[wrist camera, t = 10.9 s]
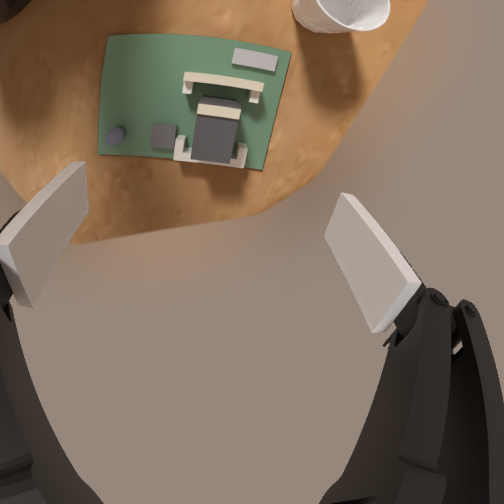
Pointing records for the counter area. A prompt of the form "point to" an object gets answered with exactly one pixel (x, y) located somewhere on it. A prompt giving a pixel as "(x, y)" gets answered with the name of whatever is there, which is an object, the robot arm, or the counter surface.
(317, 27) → the white cup
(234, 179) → the counter surface
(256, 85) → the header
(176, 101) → the board
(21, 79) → the counter surface
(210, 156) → the plug
